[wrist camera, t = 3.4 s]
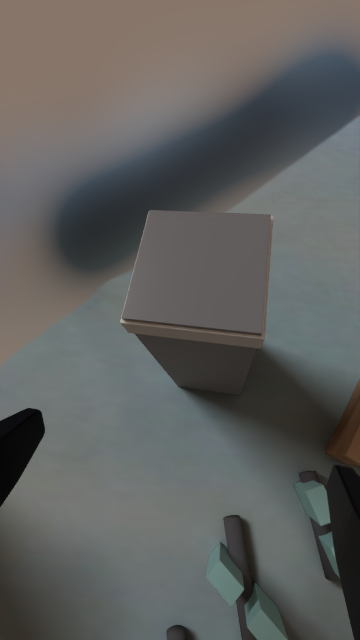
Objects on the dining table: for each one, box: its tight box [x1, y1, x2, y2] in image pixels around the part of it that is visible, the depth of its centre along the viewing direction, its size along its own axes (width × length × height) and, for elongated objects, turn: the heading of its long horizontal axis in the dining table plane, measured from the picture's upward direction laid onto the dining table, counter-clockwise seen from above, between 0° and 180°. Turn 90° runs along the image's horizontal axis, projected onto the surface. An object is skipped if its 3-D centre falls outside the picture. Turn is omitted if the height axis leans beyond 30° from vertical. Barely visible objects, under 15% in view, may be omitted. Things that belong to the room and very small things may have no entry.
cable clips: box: [206, 481, 340, 640], centre depth 15 cm, size 6×14×3 cm, turn 137°
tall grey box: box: [120, 210, 273, 396], centre depth 16 cm, size 5×5×13 cm
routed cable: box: [167, 471, 341, 640], centre depth 16 cm, size 13×10×1 cm
